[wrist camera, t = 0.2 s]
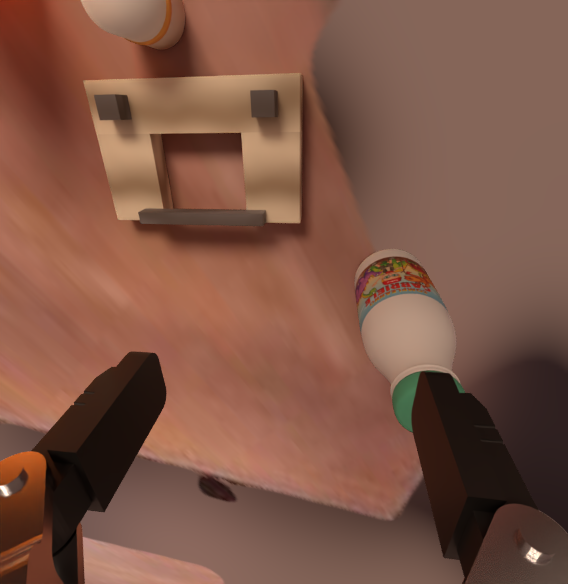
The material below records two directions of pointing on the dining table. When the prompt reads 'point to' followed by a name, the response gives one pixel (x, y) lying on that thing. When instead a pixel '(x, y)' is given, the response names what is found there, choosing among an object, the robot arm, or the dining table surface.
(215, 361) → the dining table surface
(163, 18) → the orange-banded white cylinder
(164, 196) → the shelf board
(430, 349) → the milk bottle
